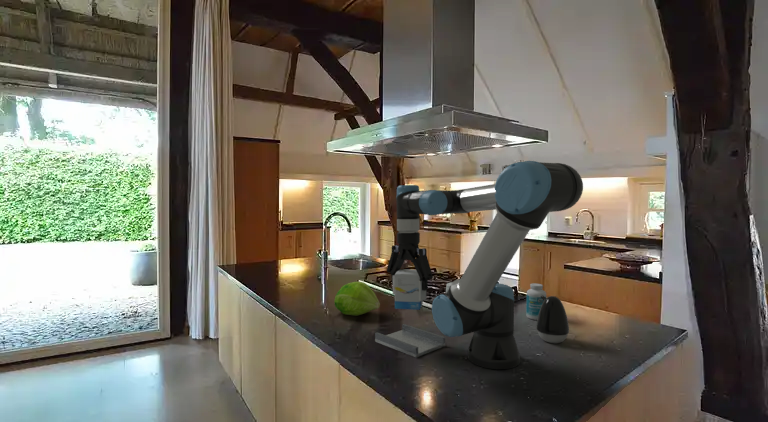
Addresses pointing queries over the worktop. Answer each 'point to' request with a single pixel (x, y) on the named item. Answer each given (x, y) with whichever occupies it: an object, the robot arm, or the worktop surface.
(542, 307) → the black rounded dome
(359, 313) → the lettuce
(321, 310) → the worktop surface
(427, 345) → the rail board
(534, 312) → the pill bottle
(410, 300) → the ink box
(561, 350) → the worktop surface
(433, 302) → the robot arm
